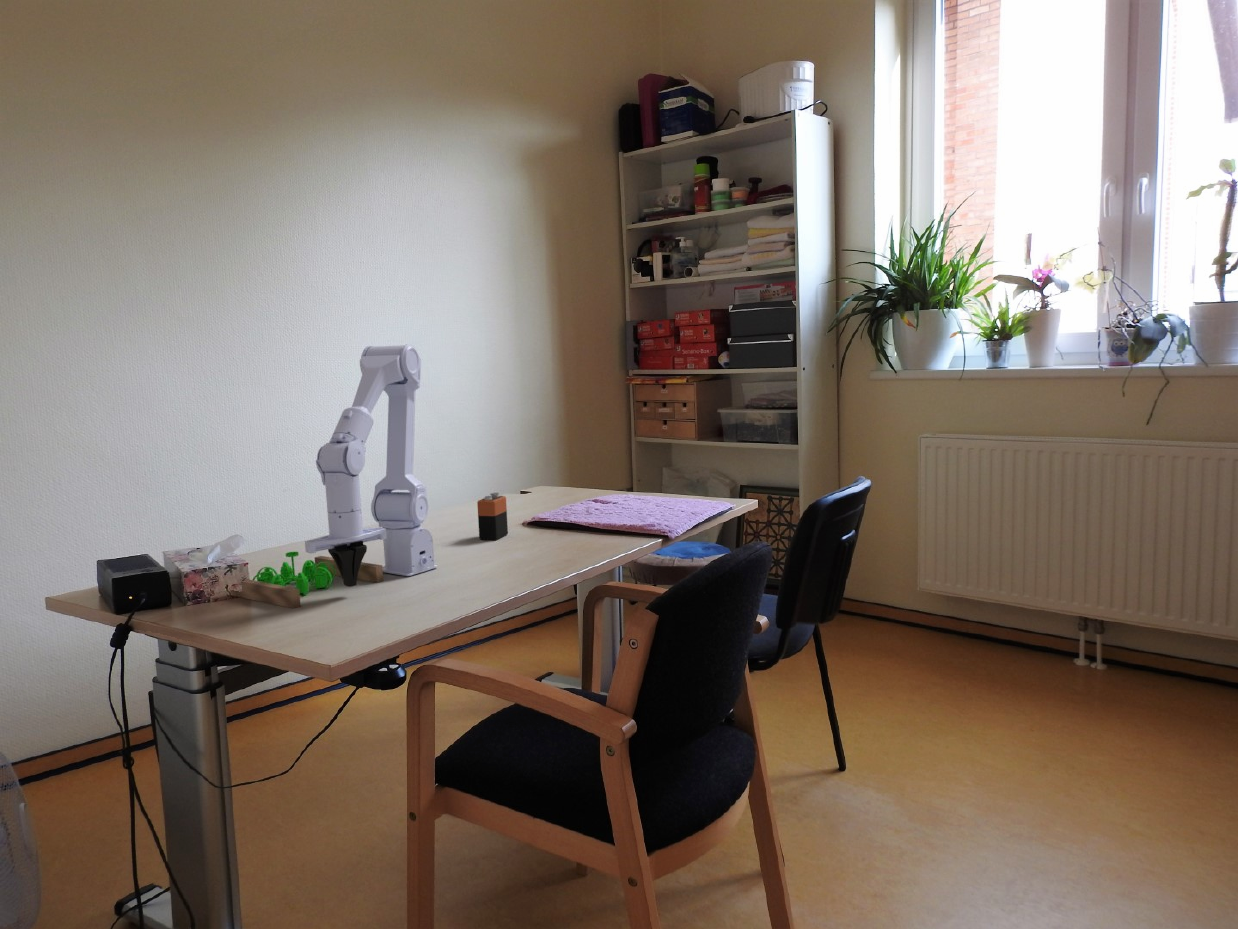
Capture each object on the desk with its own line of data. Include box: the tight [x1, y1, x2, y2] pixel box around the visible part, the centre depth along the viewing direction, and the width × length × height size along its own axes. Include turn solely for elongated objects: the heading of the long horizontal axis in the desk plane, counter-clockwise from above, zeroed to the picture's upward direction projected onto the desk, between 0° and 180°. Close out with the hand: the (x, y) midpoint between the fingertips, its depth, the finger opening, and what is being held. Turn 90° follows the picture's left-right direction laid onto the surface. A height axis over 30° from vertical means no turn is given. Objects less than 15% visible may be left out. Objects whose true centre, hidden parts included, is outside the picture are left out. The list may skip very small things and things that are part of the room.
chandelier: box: [252, 551, 335, 596], centre depth 167 cm, size 15×15×7 cm
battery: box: [476, 492, 509, 542], centre depth 205 cm, size 4×7×10 cm, turn 162°
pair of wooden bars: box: [230, 555, 384, 609], centre depth 167 cm, size 18×20×3 cm
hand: (350, 585), depth 160 cm, fingers closed
